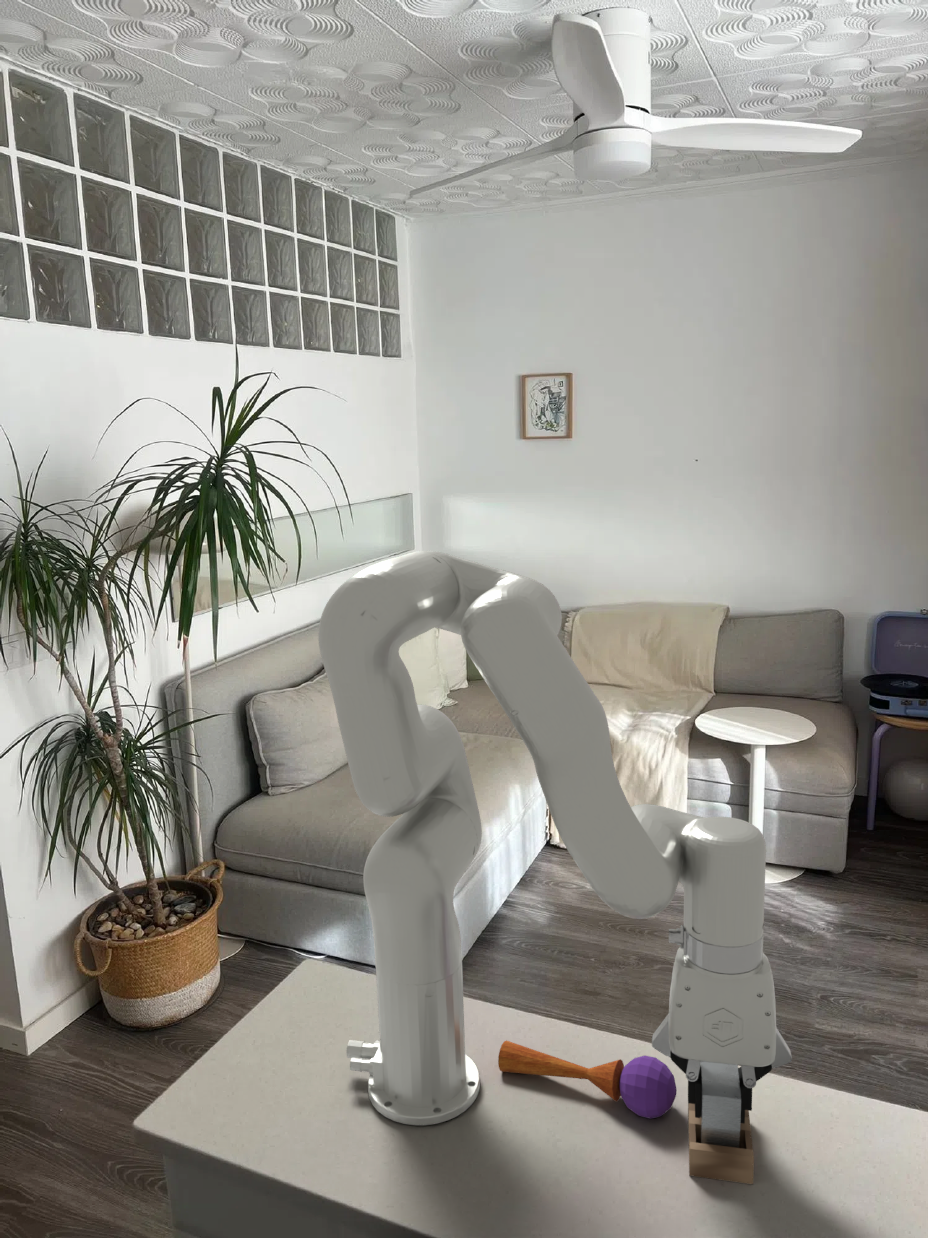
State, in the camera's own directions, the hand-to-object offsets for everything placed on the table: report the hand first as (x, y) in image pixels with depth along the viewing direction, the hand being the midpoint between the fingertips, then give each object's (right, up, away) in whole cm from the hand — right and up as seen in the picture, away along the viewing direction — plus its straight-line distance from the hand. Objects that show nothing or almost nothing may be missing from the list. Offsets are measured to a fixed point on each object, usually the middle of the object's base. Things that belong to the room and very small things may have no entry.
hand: (719, 1109), depth 94 cm
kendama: (-12, -3, +10) cm, 16 cm away
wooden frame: (0, -4, +1) cm, 4 cm away
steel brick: (0, -3, 0) cm, 3 cm away
